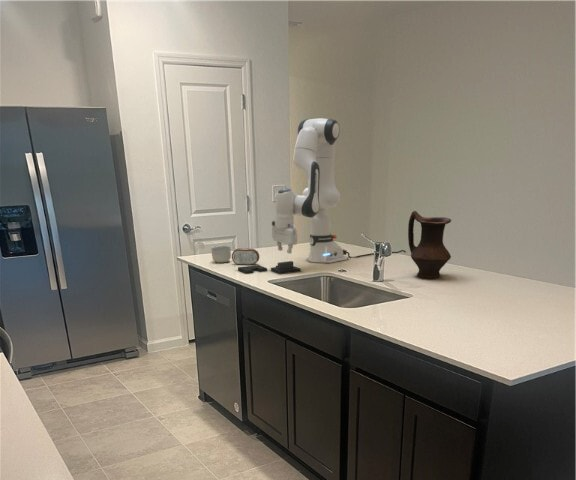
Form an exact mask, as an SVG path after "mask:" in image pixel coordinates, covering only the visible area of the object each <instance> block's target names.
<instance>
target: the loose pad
mask: <svg viewBox="0 0 576 480" xmlns="http://www.w3.org/2000/svg"><path fill="white" fill-rule="evenodd" d="M270 271H271V272H273V273H276V274H278V275H282V274H291V273H299V272H301V267H297V266H294V261H292V260H289V261H281V262H277V265H275V267H270Z"/></svg>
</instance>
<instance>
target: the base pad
mask: <svg viewBox="0 0 576 480" xmlns="http://www.w3.org/2000/svg"><path fill="white" fill-rule="evenodd" d="M237 271H239V272H241V273H244V274H246V275H248V274H253V273H254V272H260V273H262V272H267V271H268V268H267V267H265V266H263V265H260V264H253V265H248V266H247V265H245V266H239V267H237Z"/></svg>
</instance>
